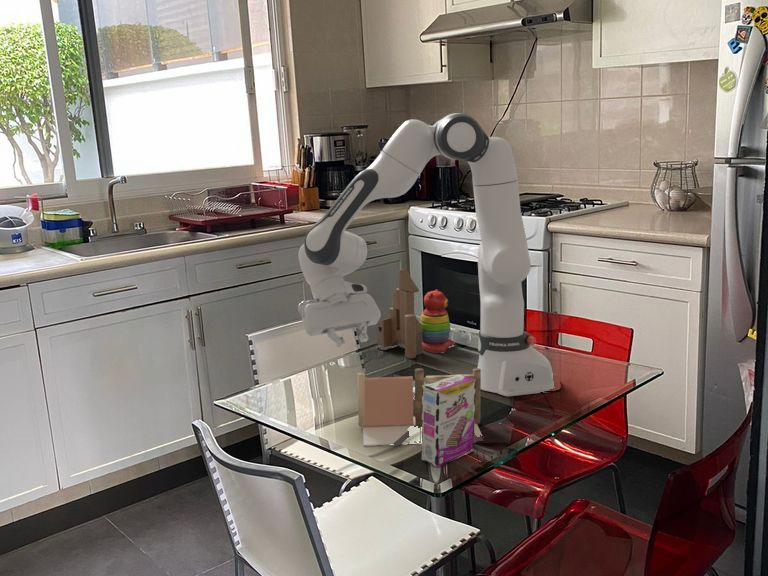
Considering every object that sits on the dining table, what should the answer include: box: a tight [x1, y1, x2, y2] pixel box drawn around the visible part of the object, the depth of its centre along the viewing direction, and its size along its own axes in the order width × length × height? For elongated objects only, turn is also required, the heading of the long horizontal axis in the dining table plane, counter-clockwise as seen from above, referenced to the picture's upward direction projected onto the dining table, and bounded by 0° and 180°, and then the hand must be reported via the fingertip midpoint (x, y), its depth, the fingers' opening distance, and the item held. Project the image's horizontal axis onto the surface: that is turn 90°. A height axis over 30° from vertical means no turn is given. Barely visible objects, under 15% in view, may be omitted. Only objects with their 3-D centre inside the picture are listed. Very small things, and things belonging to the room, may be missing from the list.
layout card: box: [362, 415, 483, 448], centre depth 172 cm, size 26×16×1 cm, turn 93°
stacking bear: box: [419, 289, 457, 354], centre depth 233 cm, size 11×10×18 cm
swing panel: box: [356, 372, 414, 428], centre depth 173 cm, size 12×2×12 cm, turn 93°
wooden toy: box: [376, 268, 423, 360], centre depth 229 cm, size 16×7×25 cm, turn 42°
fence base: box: [414, 367, 482, 426], centre depth 174 cm, size 15×2×14 cm, turn 93°
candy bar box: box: [421, 373, 476, 468], centre depth 157 cm, size 11×5×16 cm, turn 131°
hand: (353, 343), depth 187 cm, fingers open, 5 cm apart
